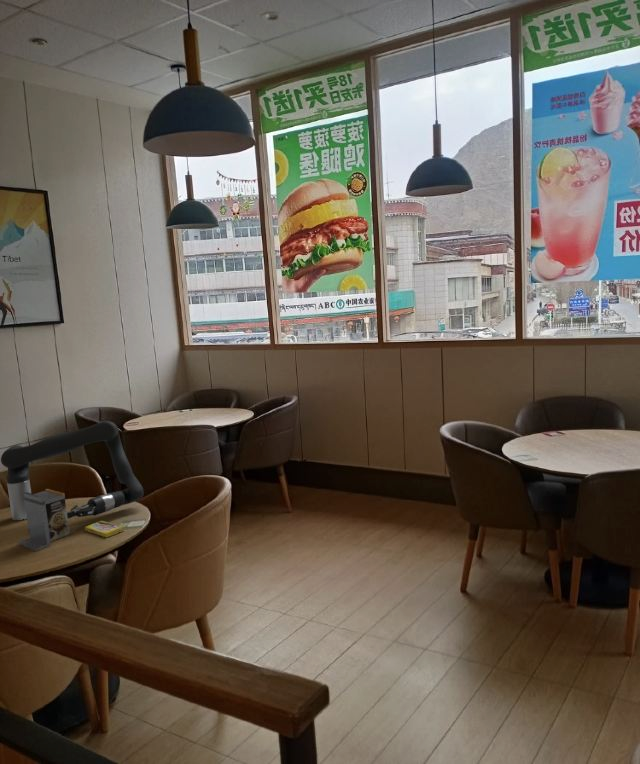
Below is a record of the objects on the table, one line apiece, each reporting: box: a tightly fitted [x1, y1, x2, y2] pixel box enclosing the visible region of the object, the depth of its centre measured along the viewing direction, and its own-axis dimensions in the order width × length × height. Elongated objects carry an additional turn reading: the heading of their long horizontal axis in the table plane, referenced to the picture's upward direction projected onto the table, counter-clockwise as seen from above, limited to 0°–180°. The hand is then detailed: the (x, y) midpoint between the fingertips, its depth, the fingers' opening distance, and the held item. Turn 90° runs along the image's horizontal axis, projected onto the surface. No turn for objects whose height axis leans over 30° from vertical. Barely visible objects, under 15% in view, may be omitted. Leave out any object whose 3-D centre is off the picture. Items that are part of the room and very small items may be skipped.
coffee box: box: [45, 498, 71, 542], centre depth 254 cm, size 9×6×16 cm
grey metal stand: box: [17, 488, 66, 552], centre depth 250 cm, size 14×15×20 cm
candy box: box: [84, 520, 125, 538], centre depth 257 cm, size 16×2×8 cm
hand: (64, 516), depth 257 cm, fingers closed
